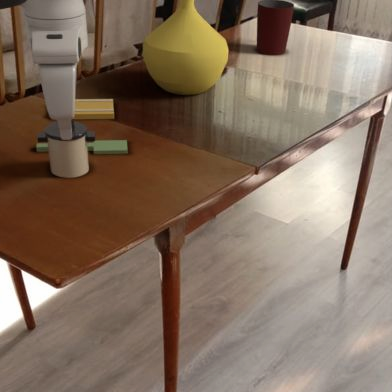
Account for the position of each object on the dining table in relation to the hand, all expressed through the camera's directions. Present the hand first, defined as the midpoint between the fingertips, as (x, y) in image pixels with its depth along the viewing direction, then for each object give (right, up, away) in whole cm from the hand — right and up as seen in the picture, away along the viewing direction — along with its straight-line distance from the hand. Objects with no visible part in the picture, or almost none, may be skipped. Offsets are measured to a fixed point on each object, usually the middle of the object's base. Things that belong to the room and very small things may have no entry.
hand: (67, 126), depth 101 cm
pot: (-1, -6, +5) cm, 8 cm away
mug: (+41, +41, +61) cm, 85 cm away
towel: (-2, +11, +24) cm, 27 cm away
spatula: (0, 0, +11) cm, 11 cm away
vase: (+18, +22, +38) cm, 47 cm away
